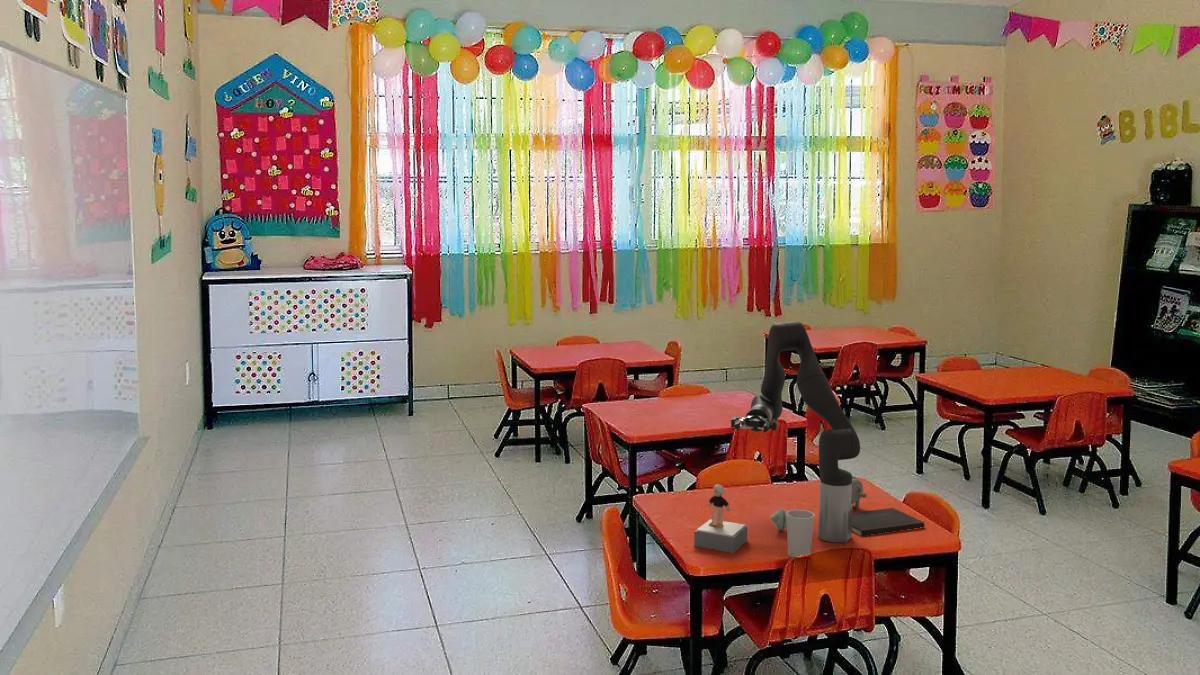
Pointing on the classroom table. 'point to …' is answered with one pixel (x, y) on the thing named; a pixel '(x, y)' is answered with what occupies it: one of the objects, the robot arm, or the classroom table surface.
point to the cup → (799, 532)
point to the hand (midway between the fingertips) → (750, 428)
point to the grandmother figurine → (718, 506)
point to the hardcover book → (883, 521)
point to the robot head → (780, 519)
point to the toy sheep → (856, 491)
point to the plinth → (721, 536)
